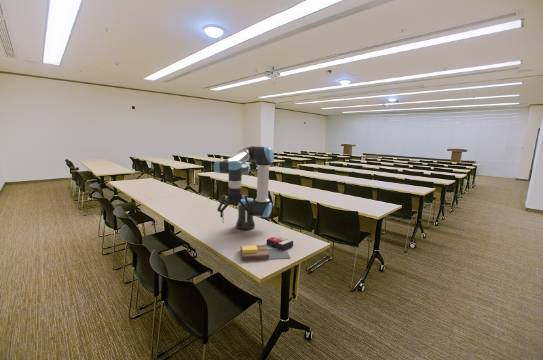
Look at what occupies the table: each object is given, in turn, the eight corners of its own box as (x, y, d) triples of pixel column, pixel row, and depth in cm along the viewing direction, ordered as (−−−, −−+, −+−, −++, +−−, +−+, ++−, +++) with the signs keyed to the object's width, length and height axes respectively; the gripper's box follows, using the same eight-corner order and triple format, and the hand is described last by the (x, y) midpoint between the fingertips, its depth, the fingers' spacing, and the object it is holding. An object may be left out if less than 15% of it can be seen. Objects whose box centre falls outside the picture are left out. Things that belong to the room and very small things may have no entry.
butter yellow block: (241, 249, 160) (241, 246, 159) (256, 248, 161) (256, 245, 161) (242, 253, 154) (242, 250, 153) (257, 252, 155) (257, 249, 155)
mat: (265, 249, 167) (265, 248, 167) (285, 248, 170) (285, 247, 169) (269, 259, 154) (269, 259, 153) (290, 258, 156) (290, 257, 156)
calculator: (277, 234, 182) (293, 239, 172) (277, 240, 183) (293, 245, 172) (266, 238, 175) (282, 244, 164) (266, 244, 175) (282, 250, 165)
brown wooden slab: (240, 250, 164) (240, 246, 163) (265, 249, 167) (265, 245, 166) (242, 261, 150) (242, 256, 150) (268, 259, 153) (269, 254, 153)
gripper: (212, 188, 142) (213, 225, 146) (257, 188, 147) (256, 223, 151) (213, 186, 150) (213, 220, 153) (255, 185, 155) (254, 219, 158)
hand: (234, 222), depth 152 cm, fingers open, 13 cm apart
